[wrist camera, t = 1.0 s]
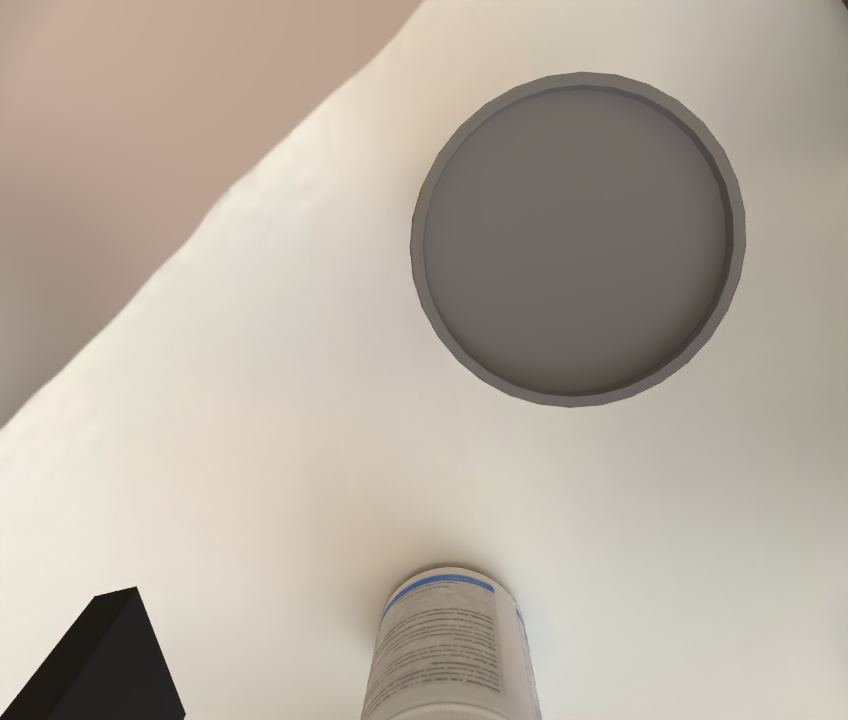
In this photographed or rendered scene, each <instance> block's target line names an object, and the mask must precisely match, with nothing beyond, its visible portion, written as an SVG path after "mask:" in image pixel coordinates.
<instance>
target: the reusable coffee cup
mask: <svg viewBox="0 0 848 720" xmlns="http://www.w3.org/2000/svg"><path fill="white" fill-rule="evenodd" d="M745 248H746V232H745V210H744V206H743V201H742V197H741V192H740V188H739V184H738V180H737V177H736V175H735V173H734V171H733V169H732V167H731V164H730V162H729V160H728V158H727V156H726V154H725V151H724V149H723V148H722V147H721V145H720V144H719V143H718V141H717V140H716V139H715V137H714V136H713V135H712V133H711V132H710V131H709V129H708V128H707V127H706V125H705V124H704V123H703V122H702V121H701V120H700V119H699V118H698V117H696V116H695V115H694V114H693V113H692V112H691V111H690V110H688V109H687V108H686V107H685V106H684V105H683V104H682V103H680V102H679V101H678V100H676V99H674V98H673V97H671V96H669V95H667V94H665V93H663V92H662V91H660V90H658V89H656V88H654V87H653V86H651V85H649V84H646V83H643V82H639V81H636V80H632V79H629V78H626V77H622V76H619V75H615V74H603V73H591V72H576V73H568V74H560V75H552V76H546V77H543V78H541V79H538V80H535V81H532V82H529V83H526V84H523V85H520V86H517V87H514V88H513V89H511V90H509V91H507V92H506V93H504V94H502V95H500V96H499V97H497V98H495V99H494V100H492V101H490V102H488V103H487V104H485V105H484V106H483V107H482V108H480V109H479V110H478V111H477V112H476V113H475V114H474V115H472V116H471V117H470V118H469V119H468V120H467V121H465V122H464V123H463V124H462V125H461V126H460V127H459V128H458V129H457V131H456V132H455V133H454V134H453V136H452V137H451V138H450V139H449V141H448V142H447V143H446V145H445V146H444V147H443V148H442V150H441V151H440V152H439V154H438V156H437V157H436V159H435V161H434V163H433V165H432V167H431V169H430V171H429V173H428V175H427V177H426V179H425V181H424V183H423V185H422V187H421V190H420V193H419V197H418V200H417V204H416V207H415V211H414V214H413V218H412V229H411V240H410V255H411V264H412V274H413V280H414V283H415V286H416V290H417V293H418V296H419V299H420V303H421V306H422V308H423V310H424V312H425V314H426V316H427V317H428V319H429V321H430V323H431V325H432V327H433V329H434V330H435V332H436V334H437V336H438V337H439V338H440V340H441V341H442V342H443V343H444V345H445V346H446V347H447V348H448V349H449V351H450V352H451V353H452V354H453V355H454V357H455V358H456V359H457V360H458V361H459V362H460V363H461V364H462V365H463V366H465V367H466V368H467V369H468V370H470V371H471V372H472V373H473V374H474V375H476V376H477V377H478V378H479V379H481V380H482V381H484V382H485V383H487V384H489V385H491V386H493V387H495V388H497V389H498V390H500V391H502V392H504V393H506V394H508V395H510V396H513V397H517V398H520V399H523V400H526V401H530V402H533V403H536V404H540V405H550V406H559V407H568V408H572V407H584V406H596V405H604V404H607V403H611V402H614V401H618V400H622V399H625V398H629V397H632V396H634V395H637V394H639V393H641V392H643V391H645V390H647V389H649V388H651V387H653V386H655V385H657V384H659V383H661V382H663V381H664V380H665V379H667V378H668V377H669V376H671V375H672V374H673V373H675V372H676V371H677V370H679V369H680V368H681V367H683V366H684V365H685V364H687V363H688V362H689V361H690V360H691V359H692V358H693V357H694V355H695V354H696V353H697V352H698V351H699V350H700V349H701V348H702V347H703V346H704V345H705V344H706V342H707V341H708V340H709V339H710V338H711V336H712V335H713V333H714V332H715V330H716V328H717V327H718V325H719V324H720V322H721V320H722V319H723V317H724V316H725V314H726V312H727V311H728V309H729V306H730V303H731V301H732V298H733V296H734V293H735V291H736V288H737V285H738V283H739V280H740V276H741V270H742V265H743V259H744V254H745Z"/></svg>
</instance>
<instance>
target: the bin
mask: <svg viewBox="0 0 848 720" xmlns="http://www.w3.org/2000/svg"><path fill="white" fill-rule="evenodd" d="M842 1H843V3H844V4H845V6H846V7H847V9H848V0H842Z"/></svg>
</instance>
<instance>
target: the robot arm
mask: <svg viewBox="0 0 848 720" xmlns="http://www.w3.org/2000/svg"><path fill="white" fill-rule="evenodd" d="M185 715H186V713H185V711H184V708H183V706H182V703H181V700H180V698H179V695H178V693H177V690H176V688H175V685H174V682H173V680H172V677H171V675H170V672H169V669H168V667H167V664H166V662H165V659H164V656H163V654H162V651H161V649H160V646H159V643H158V641H157V638H156V636H155V633H154V630H153V628H152V625H151V623H150V620H149V617H148V615H147V612H146V610H145V607H144V604H143V602H142V599H141V597H140V594H139V591H138V589H137V586H136V587H132V588H127V589H123V590H119V591H115V592H111V593H107V594H102V595H98V596H94V598H93V599H92V600H91V602H90V603H89V604H88V605H87V607H86V608H85V609H84V611H83V612H82V613H81V614H80V616H79V617H78V618H77V620H76V621H75V622H74V623H73V625H72V626H71V627H70V628H69V630H68V631H67V632H66V634H65V635H64V636H63V637H62V639H61V640H60V641H59V643H58V644H57V645H56V646H55V648H54V649H53V650H52V652H51V653H50V654H49V655H48V657H47V658H46V659H45V661H44V662H43V663H42V664H41V666H40V667H39V668H38V669H37V671H36V672H35V673H34V675H33V676H32V677H31V678H30V680H29V681H28V682H27V684H26V685H25V686H24V687H23V689H22V690H21V691H20V693H19V694H18V695H17V696H16V698H15V699H14V700H13V701H12V703H11V704H10V705H9V707H8V708H7V709H6V710H5V712H4V713H3V714H2V716H1V717H0V720H184V717H185Z"/></svg>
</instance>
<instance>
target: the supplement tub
mask: <svg viewBox="0 0 848 720" xmlns="http://www.w3.org/2000/svg"><path fill="white" fill-rule="evenodd" d="M361 720H542V717H541V711H540V706H539V700H538V695H537V689H536V684H535V679H534V673H533V668H532V663H531V657H530V651H529V646H528V641H527V636H526V631H525V626H524V622H523V618H522V615H521V612H520V610H519V608H518V606H517V605H516V603H515V601H514V600H513V598H512V597H511V596H510V594H509V593H508V592H507V591H506V590H505V589H504V588H503V587H502V586H501V585H499V584H498V583H497V582H495V581H494V580H492V579H490V578H488V577H487V576H485V575H482V574H480V573H477V572H474V571H471V570H468V569H462V568H455V567H444V568H436V569H432V570H428V571H425V572H422V573H420V574H418V575H416V576H414V577H412V578H410V579H409V580H408V581H406V582H405V583H403V584H402V585H401V586H400V587H399V588H398V589H397V590H396V591H395V592H394V594H393V595H392V596H391V598H390V599H389V601H388V603H387V604H386V607H385V609H384V611H383V614H382V617H381V621H380V626H379V630H378V635H377V640H376V645H375V650H374V655H373V660H372V665H371V670H370V675H369V680H368V684H367V689H366V694H365V699H364V704H363V709H362V715H361Z"/></svg>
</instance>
